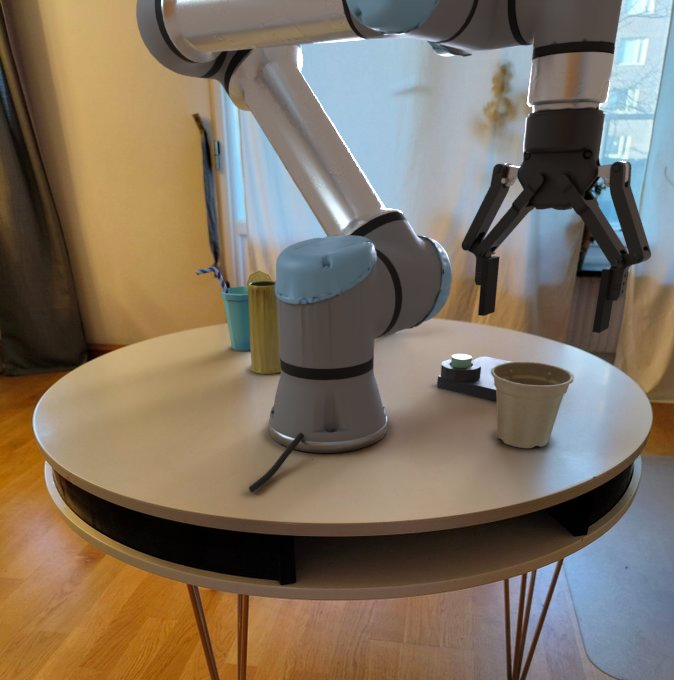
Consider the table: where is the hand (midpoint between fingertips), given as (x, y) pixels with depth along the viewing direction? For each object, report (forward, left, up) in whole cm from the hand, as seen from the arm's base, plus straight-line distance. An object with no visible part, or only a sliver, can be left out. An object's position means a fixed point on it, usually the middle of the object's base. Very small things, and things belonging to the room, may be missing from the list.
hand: (540, 321), depth 70 cm
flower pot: (0, 0, -15) cm, 15 cm away
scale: (+17, +13, -15) cm, 26 cm away
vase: (0, +46, -15) cm, 49 cm away
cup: (+6, +60, -15) cm, 62 cm away
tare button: (+12, +17, -12) cm, 24 cm away
